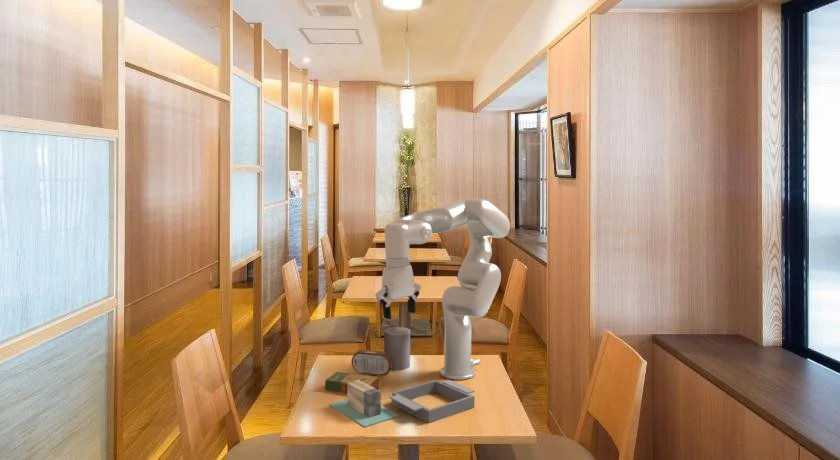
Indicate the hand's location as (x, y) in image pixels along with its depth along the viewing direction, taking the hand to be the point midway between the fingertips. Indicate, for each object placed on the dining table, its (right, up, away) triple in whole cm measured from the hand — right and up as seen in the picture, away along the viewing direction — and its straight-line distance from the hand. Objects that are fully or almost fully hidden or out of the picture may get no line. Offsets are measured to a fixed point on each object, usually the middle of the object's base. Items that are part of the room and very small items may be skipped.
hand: (399, 315), depth 182 cm
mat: (-11, -27, -10) cm, 31 cm away
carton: (-16, -26, +8) cm, 32 cm away
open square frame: (+10, -27, -5) cm, 29 cm away
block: (-11, -27, -10) cm, 30 cm away
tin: (-11, -25, +22) cm, 35 cm away
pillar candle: (-2, -24, +31) cm, 39 cm away
